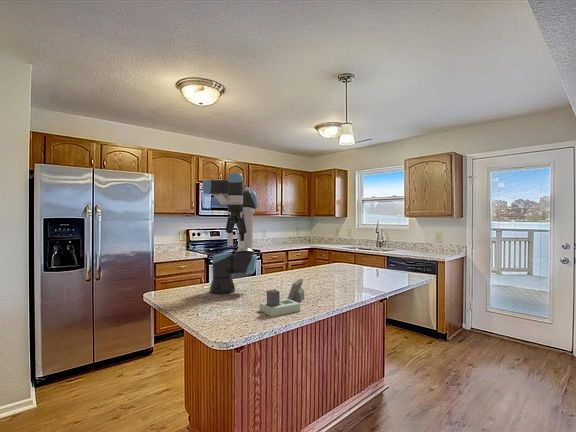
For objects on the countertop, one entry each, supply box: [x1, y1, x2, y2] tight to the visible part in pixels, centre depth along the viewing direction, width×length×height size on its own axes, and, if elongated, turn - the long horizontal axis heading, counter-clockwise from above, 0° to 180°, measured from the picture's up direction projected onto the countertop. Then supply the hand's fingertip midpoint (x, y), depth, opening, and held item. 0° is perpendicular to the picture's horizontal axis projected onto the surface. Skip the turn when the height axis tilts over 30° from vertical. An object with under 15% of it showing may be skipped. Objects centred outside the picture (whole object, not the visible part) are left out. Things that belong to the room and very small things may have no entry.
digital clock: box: [287, 278, 305, 303], centre depth 177 cm, size 16×9×11 cm, turn 153°
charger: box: [266, 288, 280, 307], centre depth 155 cm, size 4×4×11 cm
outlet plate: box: [259, 297, 301, 317], centre depth 157 cm, size 12×16×4 cm
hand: (235, 246), depth 162 cm, fingers open, 13 cm apart
